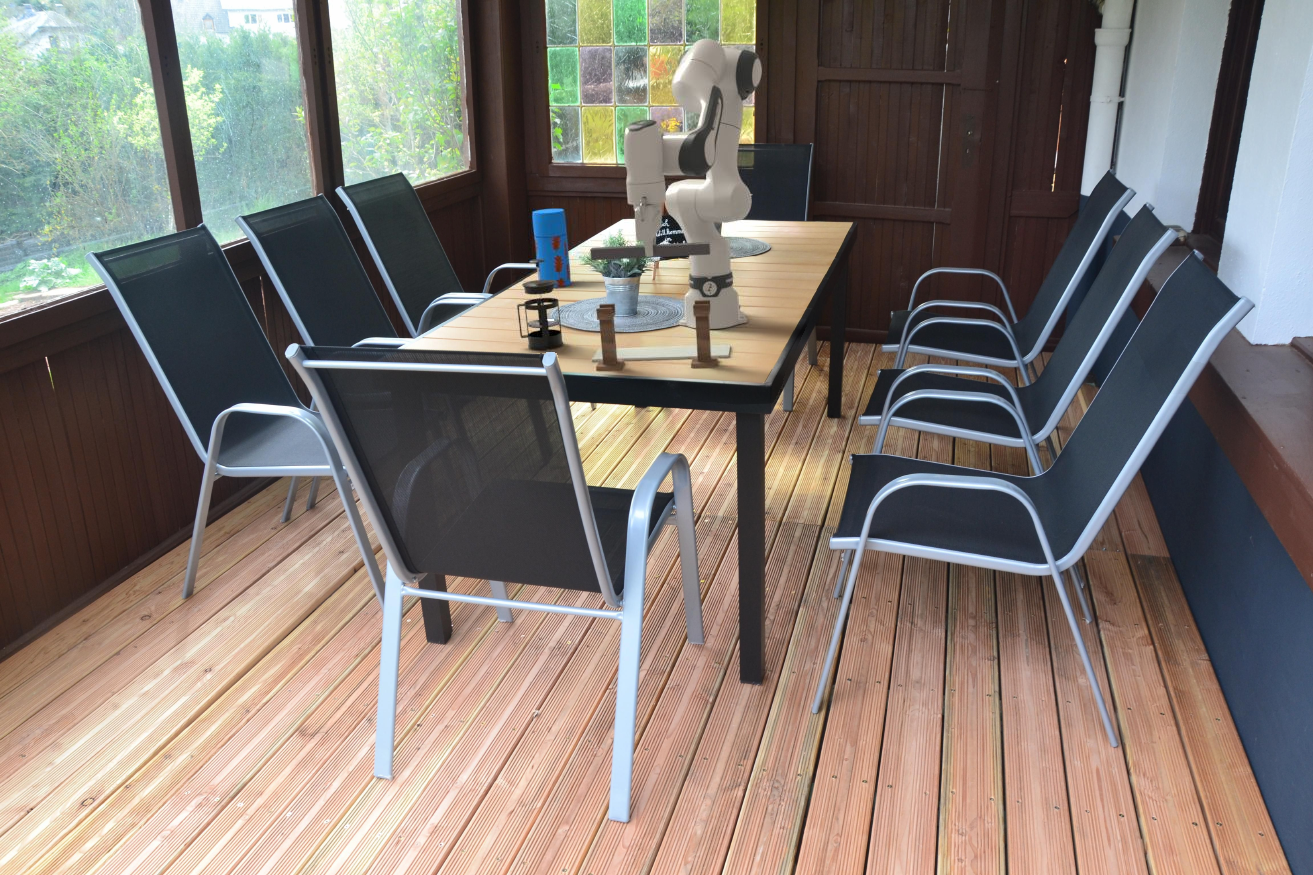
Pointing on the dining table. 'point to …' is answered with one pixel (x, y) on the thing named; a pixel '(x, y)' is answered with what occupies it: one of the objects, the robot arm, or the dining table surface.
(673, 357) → the mat
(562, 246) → the thermos
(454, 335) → the dining table surface
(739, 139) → the robot arm
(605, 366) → the stands
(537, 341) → the french press
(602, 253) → the rail
